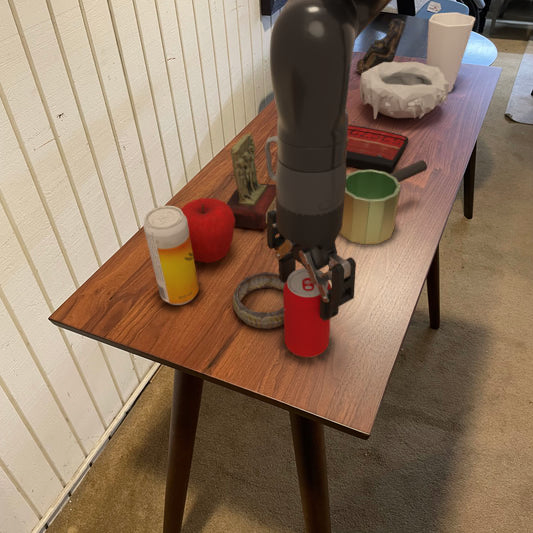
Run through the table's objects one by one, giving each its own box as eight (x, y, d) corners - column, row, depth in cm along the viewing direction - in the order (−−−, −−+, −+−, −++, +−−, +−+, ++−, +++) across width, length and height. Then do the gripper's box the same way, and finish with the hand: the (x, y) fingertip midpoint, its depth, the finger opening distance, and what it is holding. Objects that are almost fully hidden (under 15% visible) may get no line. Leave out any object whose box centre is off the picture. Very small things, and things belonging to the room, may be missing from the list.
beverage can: (326, 325, 75) (329, 263, 67) (331, 359, 70) (336, 297, 62) (283, 327, 75) (281, 265, 67) (285, 361, 70) (284, 299, 62)
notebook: (393, 165, 103) (296, 147, 110) (391, 175, 104) (295, 157, 111) (411, 133, 114) (321, 118, 121) (409, 143, 115) (321, 128, 122)
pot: (397, 191, 100) (403, 149, 94) (435, 214, 94) (445, 171, 88) (327, 224, 93) (329, 181, 87) (364, 251, 87) (369, 207, 81)
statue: (358, 68, 147) (363, 12, 137) (400, 73, 144) (407, 16, 134) (353, 76, 144) (357, 19, 134) (395, 81, 140) (403, 23, 130)
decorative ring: (223, 324, 76) (289, 338, 73) (221, 309, 73) (289, 323, 71) (246, 279, 83) (306, 290, 80) (245, 264, 81) (306, 275, 78)
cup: (454, 98, 130) (470, 28, 119) (414, 93, 134) (426, 23, 122) (462, 82, 138) (477, 14, 126) (424, 77, 141) (435, 10, 130)
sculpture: (265, 233, 91) (262, 159, 81) (223, 226, 93) (215, 153, 84) (281, 203, 98) (280, 131, 88) (241, 197, 100) (236, 126, 90)
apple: (229, 232, 92) (223, 180, 85) (245, 265, 85) (241, 211, 78) (175, 246, 90) (164, 194, 83) (188, 280, 83) (178, 227, 76)
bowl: (368, 91, 136) (371, 52, 129) (448, 100, 130) (456, 60, 123) (348, 125, 121) (351, 84, 115) (437, 138, 115) (445, 95, 109)
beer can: (207, 291, 81) (195, 214, 71) (178, 313, 78) (161, 235, 68) (181, 275, 84) (166, 198, 74) (152, 295, 81) (132, 218, 71)
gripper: (381, 210, 53) (366, 317, 64) (298, 155, 62) (296, 257, 73) (325, 237, 50) (318, 345, 61) (245, 175, 59) (252, 278, 69)
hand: (306, 297), depth 67 cm, fingers open, 8 cm apart
